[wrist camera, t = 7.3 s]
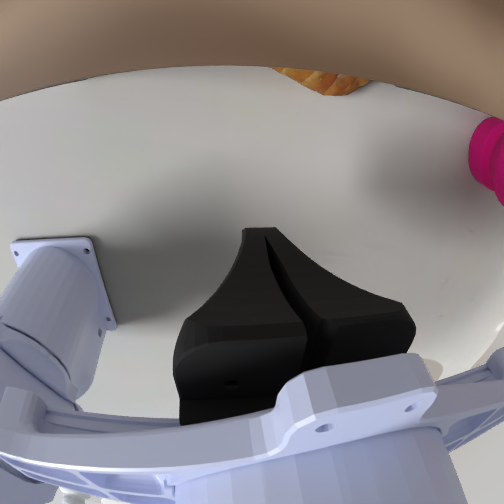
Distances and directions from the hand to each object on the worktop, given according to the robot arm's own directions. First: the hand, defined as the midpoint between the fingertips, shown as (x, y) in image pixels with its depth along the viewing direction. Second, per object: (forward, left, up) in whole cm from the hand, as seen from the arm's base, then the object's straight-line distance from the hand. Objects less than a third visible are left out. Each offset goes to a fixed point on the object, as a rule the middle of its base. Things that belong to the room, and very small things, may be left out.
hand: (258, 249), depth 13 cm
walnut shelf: (+13, 0, -9) cm, 16 cm away
